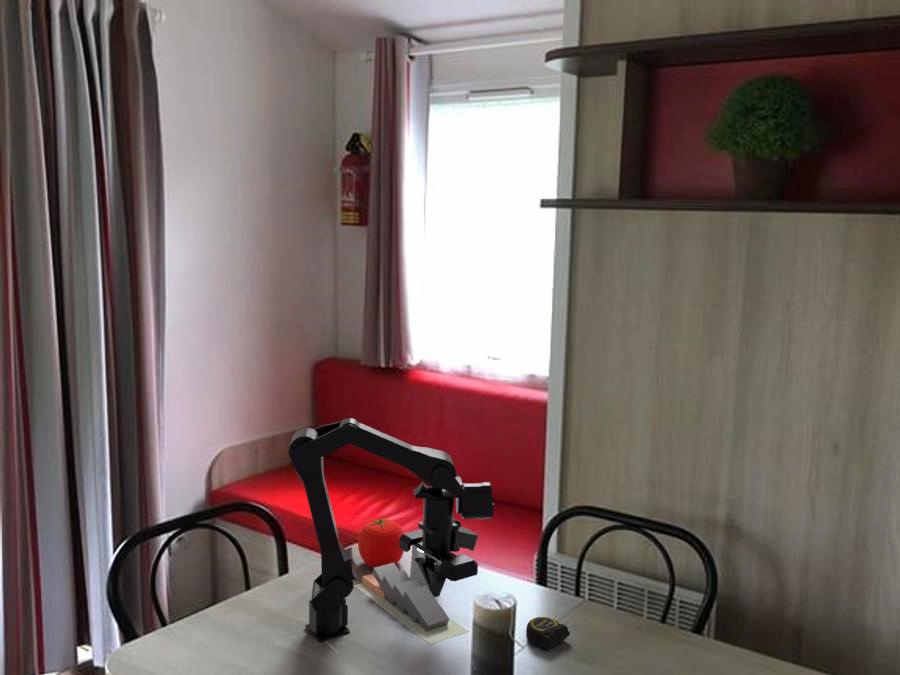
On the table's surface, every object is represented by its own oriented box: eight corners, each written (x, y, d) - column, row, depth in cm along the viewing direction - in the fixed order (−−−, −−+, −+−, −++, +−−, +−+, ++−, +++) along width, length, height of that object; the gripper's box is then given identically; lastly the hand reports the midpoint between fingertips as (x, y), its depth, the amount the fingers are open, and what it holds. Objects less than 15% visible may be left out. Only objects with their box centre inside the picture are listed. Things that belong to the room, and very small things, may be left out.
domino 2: (393, 599, 163) (373, 567, 169) (392, 605, 164) (372, 573, 170) (414, 593, 166) (394, 562, 172) (412, 599, 167) (392, 567, 173)
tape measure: (546, 656, 147) (547, 637, 146) (518, 642, 152) (519, 623, 151) (569, 643, 152) (570, 625, 151) (541, 629, 157) (542, 611, 156)
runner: (429, 645, 149) (430, 644, 149) (354, 586, 172) (354, 585, 172) (468, 632, 154) (468, 631, 154) (389, 576, 178) (389, 575, 178)
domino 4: (416, 617, 156) (394, 584, 162) (414, 623, 157) (392, 589, 163) (437, 610, 159) (415, 578, 165) (435, 616, 160) (413, 583, 166)
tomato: (414, 566, 183) (415, 521, 182) (377, 579, 176) (378, 532, 174) (385, 552, 191) (386, 508, 189) (349, 564, 184) (349, 518, 182)
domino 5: (428, 625, 153) (405, 591, 159) (426, 631, 154) (403, 597, 160) (449, 618, 156) (426, 585, 162) (447, 624, 157) (424, 591, 163)
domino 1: (384, 592, 166) (362, 576, 173) (383, 599, 166) (362, 583, 174) (404, 586, 169) (382, 570, 176) (404, 593, 169) (382, 577, 176)
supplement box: (436, 592, 170) (439, 540, 169) (408, 591, 170) (410, 539, 169) (437, 581, 176) (439, 530, 175) (410, 579, 176) (412, 529, 175)
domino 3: (404, 608, 160) (383, 575, 166) (402, 614, 160) (382, 581, 166) (425, 602, 163) (404, 570, 169) (423, 607, 163) (402, 575, 169)
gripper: (502, 526, 150) (499, 604, 152) (444, 496, 165) (442, 569, 167) (453, 538, 143) (451, 620, 146) (398, 506, 158) (396, 581, 161)
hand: (436, 596), depth 155 cm, fingers closed
